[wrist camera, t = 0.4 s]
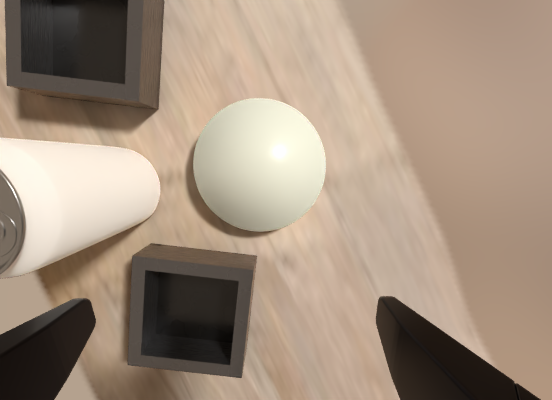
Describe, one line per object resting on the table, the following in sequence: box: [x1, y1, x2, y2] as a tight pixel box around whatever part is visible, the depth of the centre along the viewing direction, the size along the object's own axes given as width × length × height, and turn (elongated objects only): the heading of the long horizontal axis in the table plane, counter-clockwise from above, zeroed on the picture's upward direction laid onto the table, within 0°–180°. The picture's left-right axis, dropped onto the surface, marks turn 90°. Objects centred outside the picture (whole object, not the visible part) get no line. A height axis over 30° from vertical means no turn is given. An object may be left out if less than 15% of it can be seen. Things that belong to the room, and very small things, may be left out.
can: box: [0, 138, 160, 278], centre depth 17 cm, size 6×6×12 cm
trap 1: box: [5, 0, 164, 109], centre depth 19 cm, size 9×9×3 cm
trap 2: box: [128, 244, 257, 378], centre depth 22 cm, size 9×9×3 cm
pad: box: [193, 98, 326, 232], centre depth 21 cm, size 10×10×2 cm
